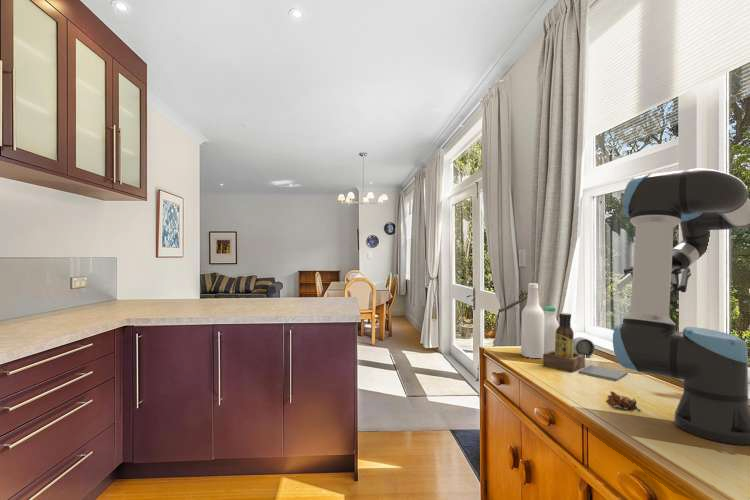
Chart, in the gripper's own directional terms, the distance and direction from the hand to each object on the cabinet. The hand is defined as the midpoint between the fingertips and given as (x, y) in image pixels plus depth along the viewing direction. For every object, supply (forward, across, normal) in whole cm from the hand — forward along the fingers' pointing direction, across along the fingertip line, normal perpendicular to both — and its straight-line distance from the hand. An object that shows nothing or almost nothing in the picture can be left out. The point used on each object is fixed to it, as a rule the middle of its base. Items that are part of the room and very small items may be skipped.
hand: (636, 292), depth 133 cm
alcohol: (+27, +31, -27) cm, 49 cm away
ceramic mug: (+9, +27, -38) cm, 47 cm away
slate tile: (+19, +4, -25) cm, 31 cm away
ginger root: (+35, -18, -9) cm, 40 cm away
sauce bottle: (+25, +15, -24) cm, 38 cm away
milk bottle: (+19, +32, -32) cm, 49 cm away
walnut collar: (+25, +16, -24) cm, 38 cm away
